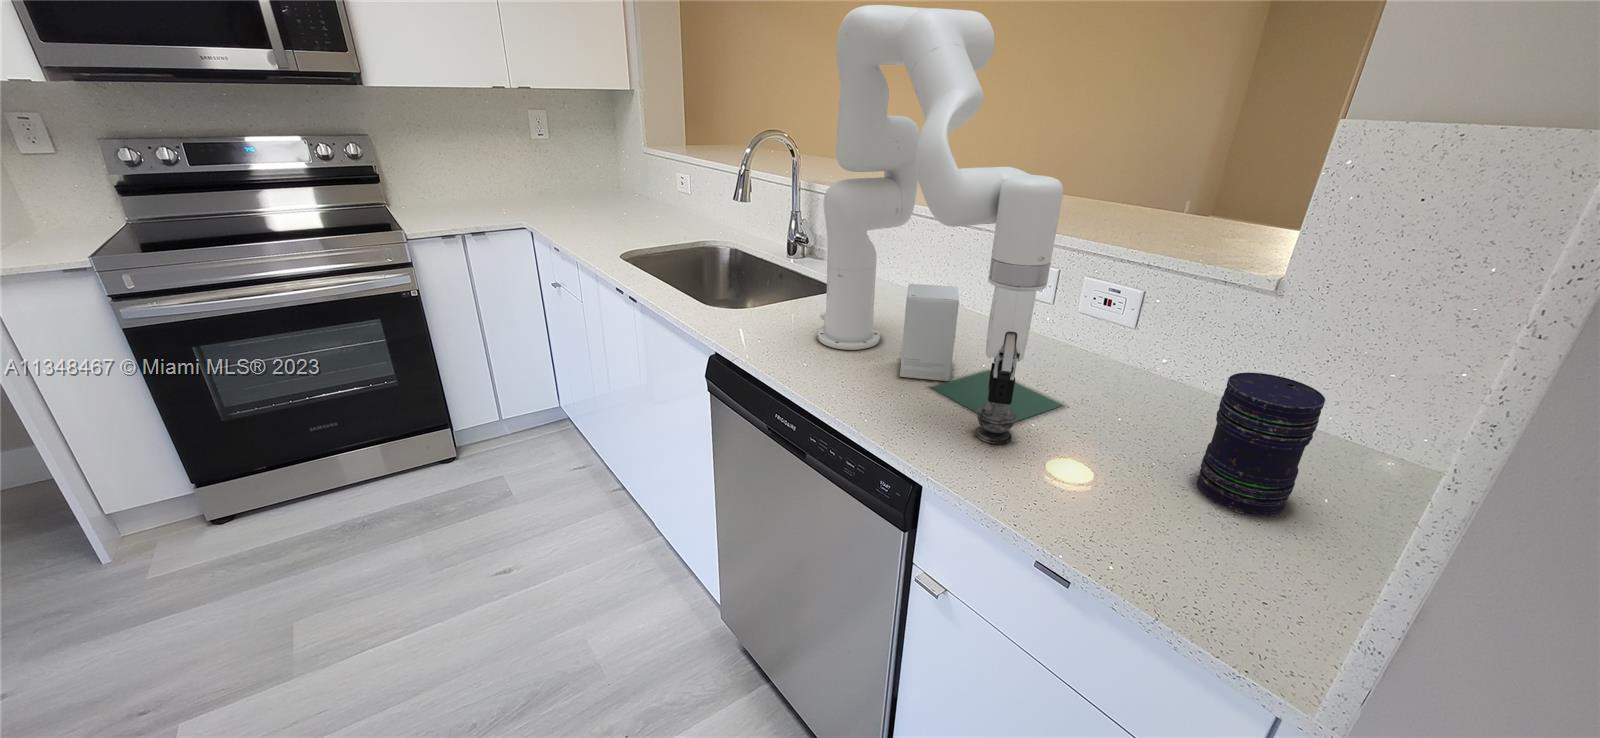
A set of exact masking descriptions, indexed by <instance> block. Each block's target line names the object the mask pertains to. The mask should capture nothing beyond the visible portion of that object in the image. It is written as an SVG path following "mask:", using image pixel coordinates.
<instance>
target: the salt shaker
mask: <svg viewBox="0 0 1600 738" xmlns="http://www.w3.org/2000/svg"><path fill="white" fill-rule="evenodd" d="M992 375H994V369H993V373H992ZM989 388H990V386H989V387H988V388H987V390H988V391H989ZM975 414H976V417H977V422H978V424H979V426H978V427H977V428H976V429H975V431H974V434H975V436H976V437H977V438H978V439H979V440H981V441H983V442H986V443H989V444H994V445H1003V444H1007V443H1009V442H1011V441H1012V439H1013V435H1012V434H1011V432H1010V431H1009V430H1011V429H1012V427H1013V426H1014V424H1015V423H1016V422H1015V421H1016V420H1017V414H1016V413H1015V412H1014V411H1013V410H1012V409H1010V408H1009V405H1007V404H1000V403H992V402H989V401H987V404H986V405H982V406H980V407H978V408H977V410H976V412H975ZM1014 422H1015V423H1014Z"/></svg>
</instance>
